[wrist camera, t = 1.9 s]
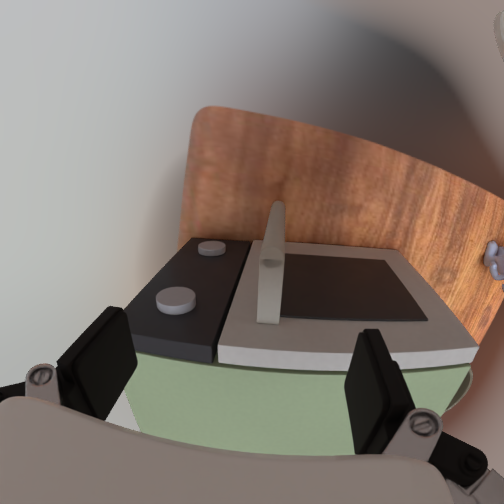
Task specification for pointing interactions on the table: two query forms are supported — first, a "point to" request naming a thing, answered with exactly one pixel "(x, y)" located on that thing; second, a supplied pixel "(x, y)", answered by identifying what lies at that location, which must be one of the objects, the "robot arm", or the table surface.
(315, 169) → the table surface
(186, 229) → the table surface
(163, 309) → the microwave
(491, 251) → the toy figurine
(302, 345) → the microwave door
